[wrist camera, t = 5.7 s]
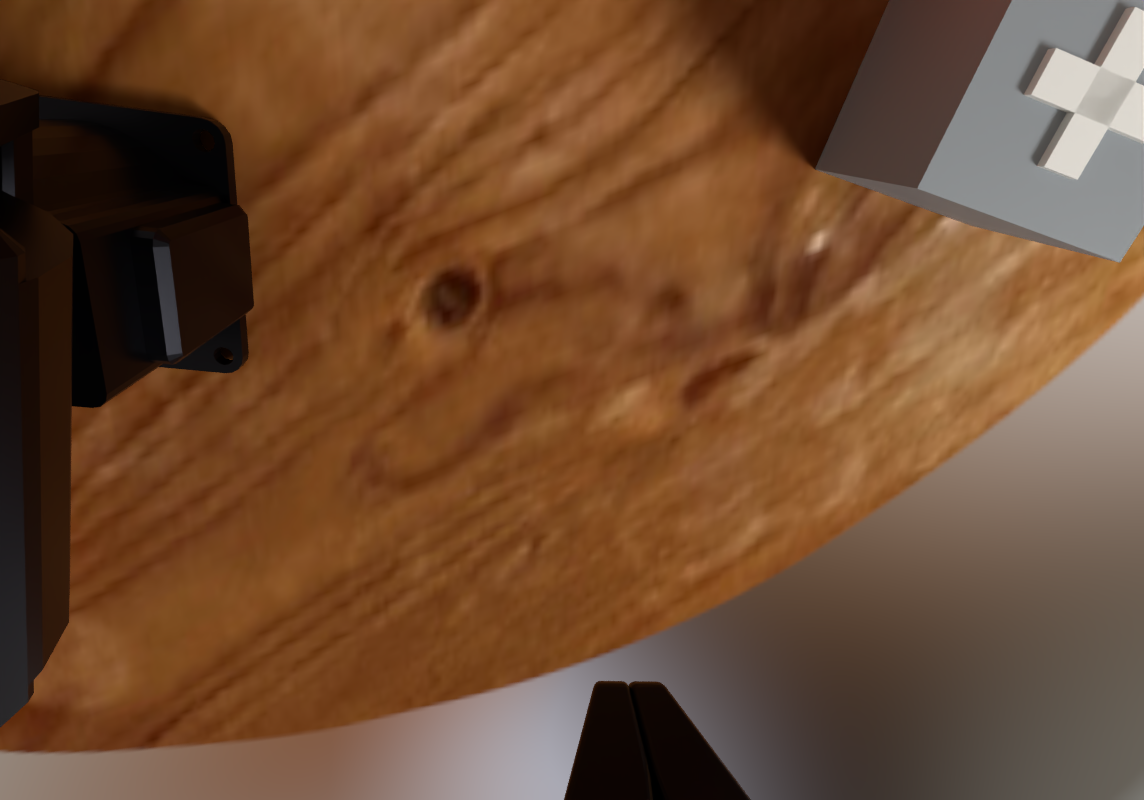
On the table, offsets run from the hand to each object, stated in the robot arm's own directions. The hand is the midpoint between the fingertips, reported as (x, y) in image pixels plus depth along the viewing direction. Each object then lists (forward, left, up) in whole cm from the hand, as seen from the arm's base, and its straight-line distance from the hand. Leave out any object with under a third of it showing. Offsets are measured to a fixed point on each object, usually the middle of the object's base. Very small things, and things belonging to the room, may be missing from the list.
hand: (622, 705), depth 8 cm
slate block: (+9, +8, -12) cm, 17 cm away
